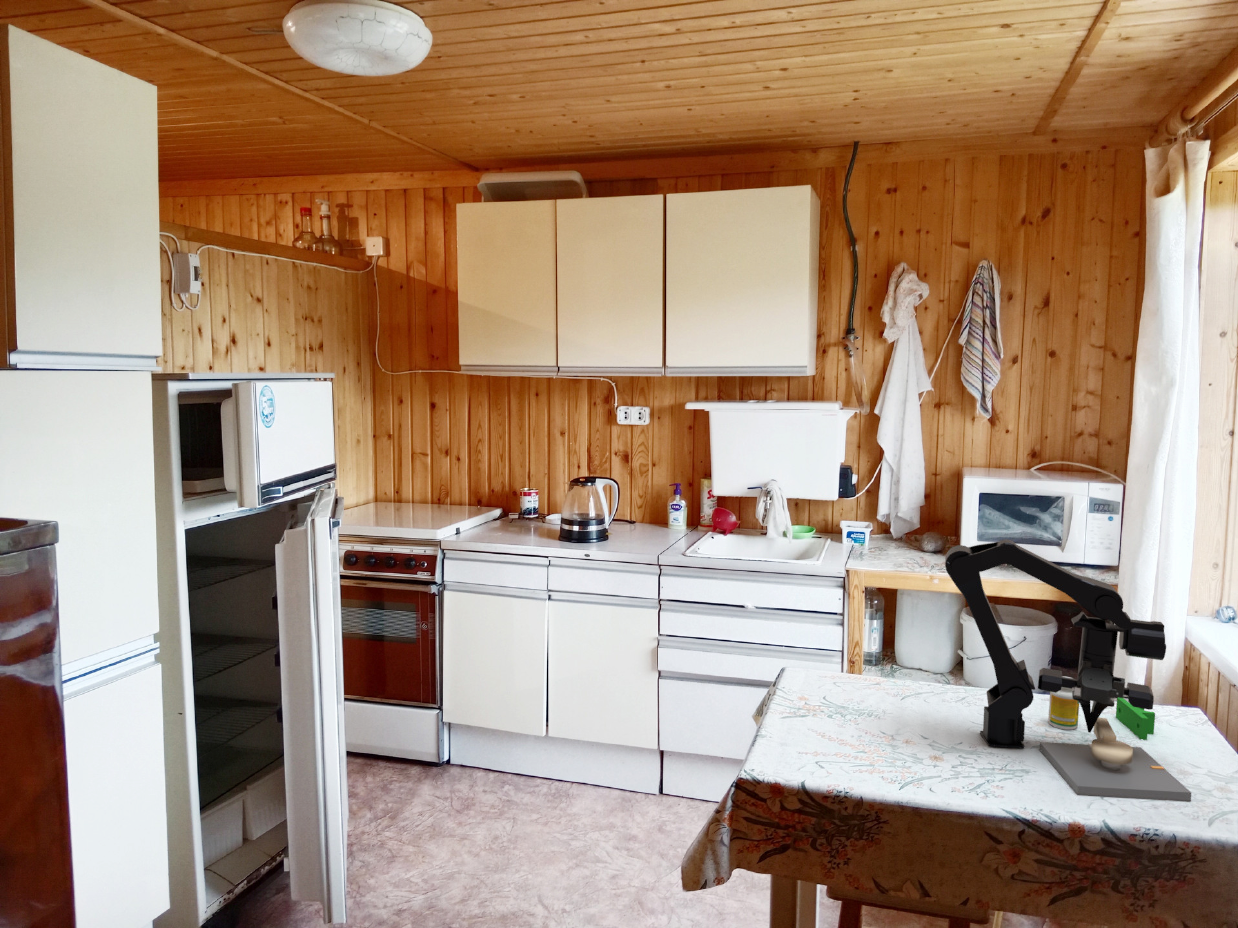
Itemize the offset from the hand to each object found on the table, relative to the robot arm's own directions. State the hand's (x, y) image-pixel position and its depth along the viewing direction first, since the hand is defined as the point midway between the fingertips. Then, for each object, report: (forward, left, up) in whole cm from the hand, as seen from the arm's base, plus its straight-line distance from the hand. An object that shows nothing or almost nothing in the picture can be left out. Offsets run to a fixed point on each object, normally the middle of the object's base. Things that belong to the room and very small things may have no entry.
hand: (1089, 731), depth 164 cm
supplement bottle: (0, +14, -4) cm, 14 cm away
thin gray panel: (0, -8, -4) cm, 9 cm away
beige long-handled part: (+1, -5, -1) cm, 5 cm away
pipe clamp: (+15, +14, -5) cm, 21 cm away
